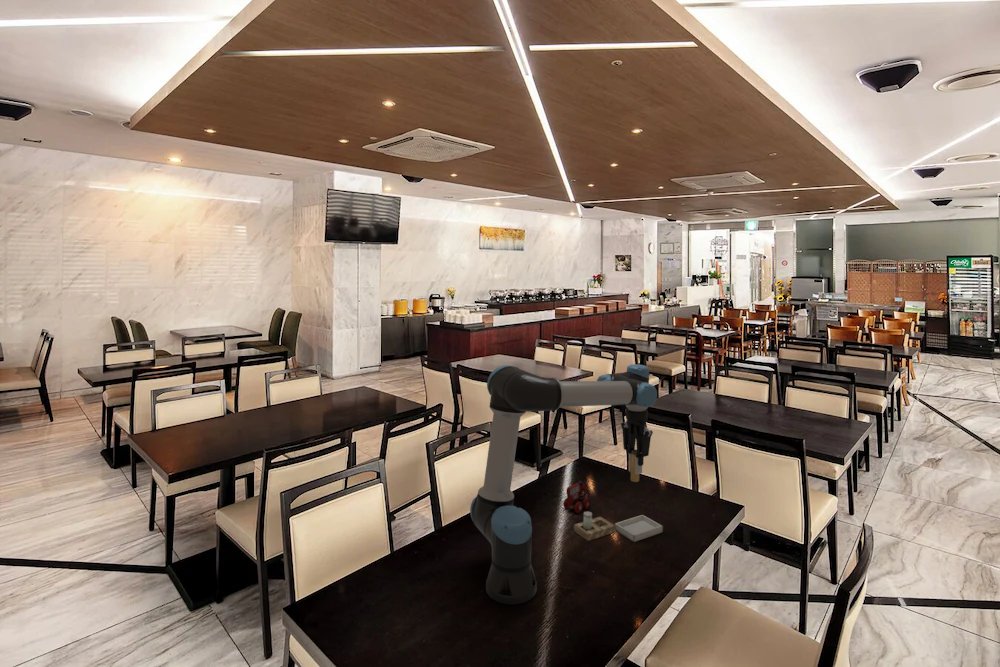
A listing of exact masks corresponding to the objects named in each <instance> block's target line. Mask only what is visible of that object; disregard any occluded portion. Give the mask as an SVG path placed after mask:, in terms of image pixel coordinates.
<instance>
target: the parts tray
mask: <svg viewBox="0 0 1000 667" xmlns="http://www.w3.org/2000/svg"><path fill="white" fill-rule="evenodd" d="M614 525H615V532H617V533H619V534H620V535H622V536H624V537H625V538H627V539H628V540H630V541H631V542H633V543H636V542H638V541H641V540H644V539H647V538H650V537H653V536H657V535H659V534H661V533H663V531H664V525H662V524H660V523H658V522H656V521H654V520H653V519H651V518H649V517H647V516H645V515H644V514H641V515H638V516H634V517H631V518H628V519H625V520H622V521H618V522H616V523H614Z"/></svg>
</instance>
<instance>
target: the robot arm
mask: <svg viewBox="0 0 1000 667" xmlns="http://www.w3.org/2000/svg"><path fill="white" fill-rule="evenodd" d="M649 369H650V368H649V367H648V366H646V365H643V364H636V363H635V364H629V365H627V366H626V371H625V372H617V373H616V372H615V373H606V374H602V375H600V376H598V377H597V379H596V380H586V381H585V380H581V381H580V380H579V381H577V380H575V381H574V380H571V381H563V380H562V381H561V380H558V378H555V377H544V376H541V375H540V376H539V375H537V374H533V373H531V372H528V371H526V370H523V369H520V368H519V367H518V366H514V365H507V364H505V365H500V366H498V367H496V368H495V369H493V371H491V373H490V374H489V376H488V379H487V381H486V388H487V391H488V393H489V395H490V399H489V408H490V410H491V411H492V414H493V415H492V422H491V430H490V436H489V444H488V451H487V460H486V467H485V472H484V473H485V474H484V482H483V486H481V487H479V489H478V490H477V494H476V496H475V497H473V499H472V501H471V504H470V508H469V513H470V517H471V520H472V522H473V525H474V526H475V527H476V528H477V530H478V531H479V532H480V533H481V534H482V535H483V536H484V537H485V538H486V540H487V541H488V542H489V543H490V546H491V565H490V569H489V571H488V573H487V574H488V575H487V577H486V579H485V591H486V594H487V595H488V597H489V598H490V599H492V600H493V601H495V602H498V603H500V604H504V605H510V606H511V605H521V604H523V603H526V602H529V601H531V600H532V599H533V598H534V597H535V595H537V594H536V593H537V591H538V588H537V586H538V585H537V583H538V582H537V579H536V574H535V572H534V569H533V566H532V534H533V526H532V519H531V516H530V514H529V513H528V512H527V511H526V510H525V509H523V508H521V507H517V506H516V505H514V501H515V494H514V493H513V491H512V490H511V487H512V479H513V472H514V465H515V458H516V451H517V444H518V439H519V438H518V437H519V436H518V435H519V430H520V422H521V417H522V416H523V415H524V414H526V413H527V412H547V411H548V412H549V411H551V412H553V411H555V412H556V411H558V410H559V409H560V408H561V407H562V408H564V407H565V408H569V407H571V408H572V407H592V406H593V407H595V406H596V407H597V406H600V407H601V406H624V405H625V407H626V408H625V418H626V421H624V422H621V423H620V426H621V428H622V444H623V450H625V451H626V452H627V461H628V472H630V473H631V453H632V450H637V456H635V474H636V475H637V474H639V475H640V474H642V473H643V466H644V458H645V457H648V456H649V454H650V453H649V452H650V448H651V447H650V446H651V438H652V435H653V433H654V431H653V430H649V428H648V425H647V420H649V419H648V418H649V417H648V416H649V410H648V408H650V407H652V406H653V405H655V403H656V401H657V398H658V390H657V389H656V387H655V385H652V384H650V370H649ZM635 447H636V449H635Z"/></svg>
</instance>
